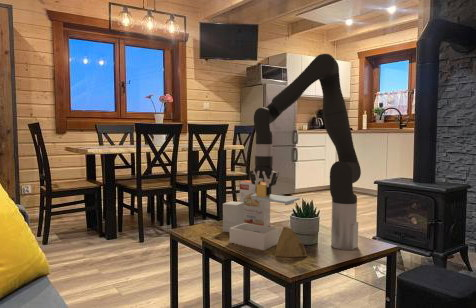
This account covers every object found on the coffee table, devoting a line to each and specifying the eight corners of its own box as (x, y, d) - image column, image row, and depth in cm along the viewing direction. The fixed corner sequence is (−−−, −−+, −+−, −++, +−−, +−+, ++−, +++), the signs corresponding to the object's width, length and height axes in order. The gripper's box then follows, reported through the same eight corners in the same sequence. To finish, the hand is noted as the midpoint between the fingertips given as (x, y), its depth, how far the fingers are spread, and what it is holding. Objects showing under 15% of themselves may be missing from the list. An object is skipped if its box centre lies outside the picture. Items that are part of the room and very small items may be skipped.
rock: (313, 247, 135) (289, 239, 141) (309, 232, 130) (284, 224, 136) (299, 271, 129) (274, 261, 135) (294, 256, 124) (269, 247, 130)
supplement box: (244, 230, 169) (245, 202, 168) (236, 233, 162) (236, 204, 162) (230, 228, 172) (231, 200, 172) (222, 231, 166) (222, 203, 165)
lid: (299, 202, 157) (300, 185, 156) (286, 206, 147) (286, 188, 147) (259, 197, 168) (260, 181, 168) (245, 201, 159) (245, 184, 158)
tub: (278, 243, 148) (278, 228, 148) (264, 250, 139) (264, 234, 139) (245, 237, 157) (245, 222, 157) (229, 243, 148) (229, 228, 148)
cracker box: (238, 224, 179) (239, 181, 178) (246, 222, 184) (246, 179, 183) (263, 229, 171) (263, 183, 170) (270, 226, 176) (270, 182, 175)
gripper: (282, 155, 158) (282, 195, 159) (254, 154, 166) (254, 192, 167) (273, 156, 152) (273, 197, 153) (244, 154, 160) (244, 194, 161)
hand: (263, 194), depth 160 cm, fingers closed on lid, 4 cm apart
